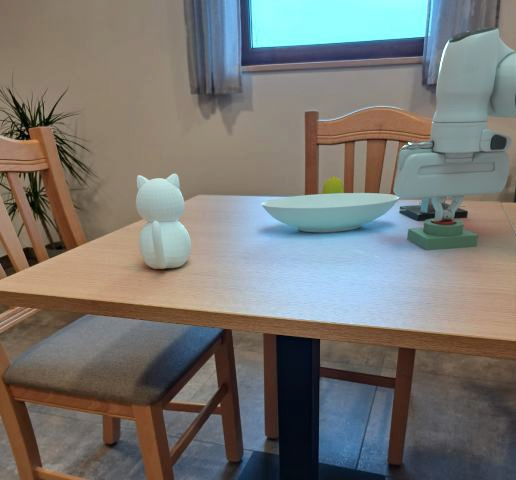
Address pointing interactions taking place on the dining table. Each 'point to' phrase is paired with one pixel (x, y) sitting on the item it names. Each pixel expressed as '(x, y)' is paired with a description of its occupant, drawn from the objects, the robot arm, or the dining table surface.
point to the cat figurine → (162, 223)
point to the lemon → (333, 186)
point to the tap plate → (416, 215)
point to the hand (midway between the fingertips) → (443, 220)
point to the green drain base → (442, 236)
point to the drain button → (444, 222)
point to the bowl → (330, 210)
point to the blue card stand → (428, 205)
